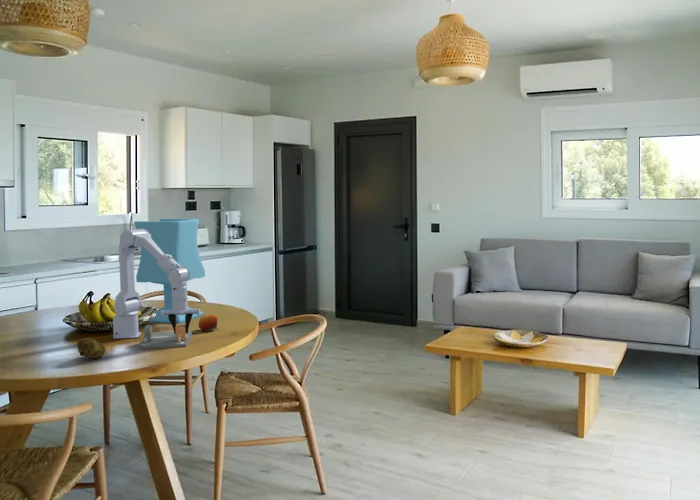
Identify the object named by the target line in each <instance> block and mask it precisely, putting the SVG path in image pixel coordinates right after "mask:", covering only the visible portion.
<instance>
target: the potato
mask: <svg viewBox="0 0 700 500" xmlns="http://www.w3.org/2000/svg"><path fill="white" fill-rule="evenodd" d="M76 346H77V351H78V353H79V356H82V357H86V358H90V359H100V358H101V357H103V356H104V354H105V352H106V348H105V345H104V344H103V343H102V342H99V341H98V340H96V339H95V338H91V337H86V338H82V339H80V341H78V342H77V344H76ZM99 357H100V358H99Z"/></svg>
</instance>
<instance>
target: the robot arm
mask: <svg viewBox="0 0 700 500" xmlns="http://www.w3.org/2000/svg"><path fill="white" fill-rule="evenodd" d="M118 245H119V246H118V262H119V282H120V283H119V286H120V287H119V288H120V291H119V293H117V295H116V296H115V297H114V298H115V302H114V304H113V309H114V312H115V315H113V319H112V327H113V328H112V329H113V340H114V339H115V340H117V339H135V338H139V337H140V336H141V335H142V332H141V331H139V313H140V310H141V309H142V307H143V306H142V301H141V299H140V293H139V292H137V291H136V287H135V286H136V285H135V284H136V283H135V260H134V259H135V258H134V252H135V251H136V250H137V249H138V248H141V247H144V248H145V249H146V250H147V251H148V252H149V253H151V254H152V255H153V256H154V257H155V258H156V259H157V260H158V261H157V263H158V265H159V266H160V267H161V268H162V269H163V270H164V271H165V272H166V273H167V275H168V280H169V281H170V283H171V287H172V305H173V309H171V310H161V316H166V315H169V316H168V319H169V321H170V322H171V323H170V324H171V326H172V329H173V332H174V334H176V329H175V327H176V325H177V324H176V315H186V316H185V322H184V323H185V324H186V334H188V331H189V327H190V323H191V321H192V320H191V318H192V316H193V314H197V315H199V314H200V311H201V309H200V308H192V309H188V307H189V305H188V304H189V303H188V281H189V280H188V279H189V277H190V273H189V271H188V269H187V268H186V267H182V266H180V265H179V264H178V263H177V262H176V261H175V260H174V259H173V258H172V256H171V255H169V254H164V253H163V252H162V250H161V249H160V248H159V247H158V246H157V245H156V243H155V242H154V241H153V240H152V239H151V234H150V233H148V231H147V230H146V229H137V230H136V229H126V230H124V231H122V232H121V233H120V234H119V244H118ZM187 280H188V281H187ZM175 313H177V314H175ZM116 314H117V315H116Z"/></svg>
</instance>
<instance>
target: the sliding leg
mask: <svg viewBox="0 0 700 500" xmlns="http://www.w3.org/2000/svg"><path fill="white" fill-rule="evenodd" d="M175 329H176V341H179V342H181V341H182V340H186V335H187V334H186V323H181V324H176V327H175Z"/></svg>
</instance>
